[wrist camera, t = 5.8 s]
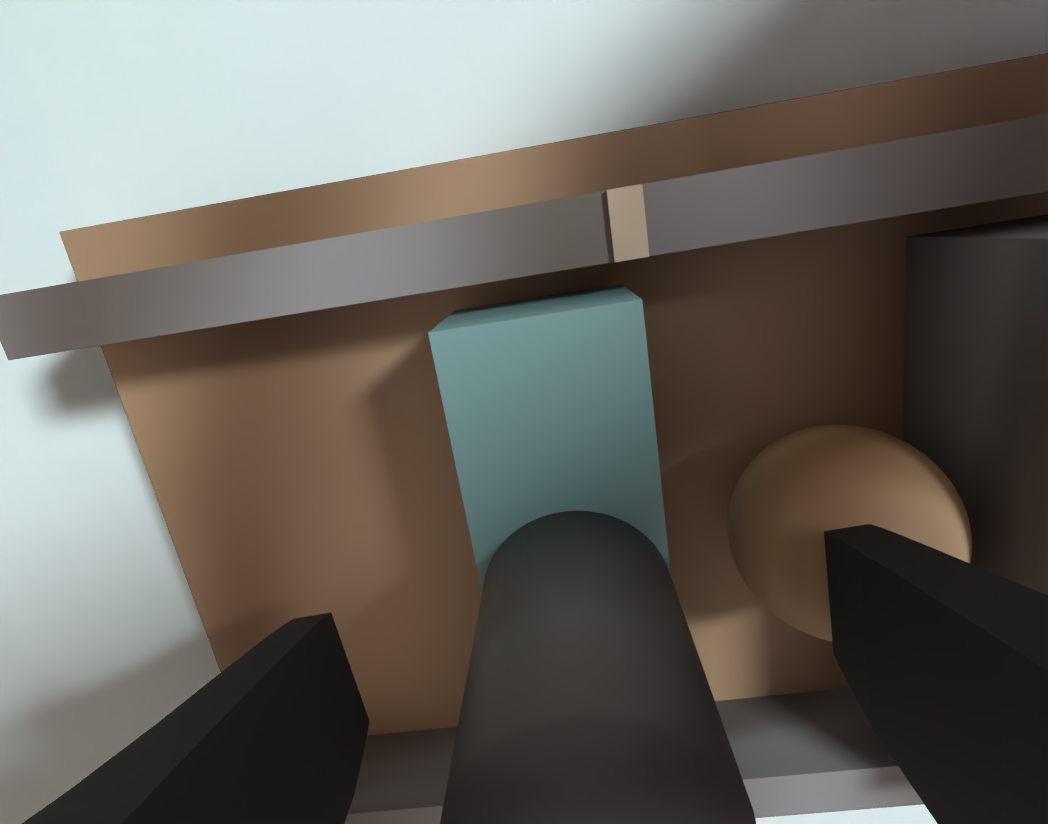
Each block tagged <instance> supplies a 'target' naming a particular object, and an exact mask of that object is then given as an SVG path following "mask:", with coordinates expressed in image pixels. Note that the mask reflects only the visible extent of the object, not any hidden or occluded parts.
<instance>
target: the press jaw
mask: <svg viewBox="0 0 1048 824" xmlns="http://www.w3.org/2000/svg"><path fill="white" fill-rule="evenodd" d="M428 335H429V340H430V345H431V350H432V355H433V359H434V364H435V369H436V374H437V379H438V383H439V388H440V393H441V398H442V403H443V407H444V412H445V417H446V422H447V427H448V432H449V436H450V441H451V446H452V451H453V456H454V460H455V465H456V470H457V475H458V480H459V484H460V489H461V494H462V499H463V504H464V508H465V513H466V518H467V523H468V528H469V533H470V537H471V542H472V547H473V552H474V557H475V561H476V566H477V571H478V576H479V581H480V585H481V590H482V597H481V602H480V608H479V613H478V619H477V624H476V630H475V635H474V640H473V646H472V651H471V657H470V662H469V668H468V673H467V678H466V684H465V689H464V695H463V700H462V706H461V711H460V716H459V722H458V727H457V733H456V738H455V744H454V749H453V754H452V760H451V765H450V771H449V776H448V782H447V787H446V792H445V798H444V803H443V809H442V815H441V821H440V824H756V821H755V814H754V811H753V808H752V805H751V802H750V799H749V796H748V794H747V791H746V788H745V785H744V782H743V779H742V777H741V774H740V771H739V768H738V765H737V762H736V760H735V757H734V754H733V751H732V748H731V745H730V743H729V740H728V737H727V734H726V731H725V729H724V726H723V723H722V720H721V717H720V714H719V712H718V709H717V706H716V703H715V700H714V697H713V695H712V692H711V689H710V686H709V683H708V680H707V678H706V675H705V672H704V669H703V666H702V663H701V661H700V658H699V655H698V652H697V649H696V647H695V644H694V641H693V638H692V635H691V632H690V630H689V627H688V624H687V621H686V618H685V615H684V613H683V610H682V607H681V604H680V601H679V598H678V596H677V593H676V590H675V587H674V584H673V581H672V579H671V572H670V563H669V553H668V543H667V534H666V524H665V514H664V505H663V495H662V485H661V476H660V466H659V456H658V447H657V437H656V427H655V418H654V408H653V398H652V389H651V379H650V369H649V360H648V350H647V340H646V331H645V321H644V311H643V302H642V299H641V298H640V297H638V296H637V295H636V294H634V293H633V292H631V291H630V290H629V289H627V288H626V287H625V286H623V285H622V284H617V285H611V286H604V287H598V288H592V289H586V290H579V291H573V292H567V293H560V294H554V295H548V296H542V297H535V298H529V299H523V300H516V301H510V302H504V303H498V304H491V305H485V306H479V307H472V308H466V309H460V310H455V311H453V312H452V313H451V314H450V315H449V316H447V317H446V318H445V319H444V320H443V321H442V322H440V323H439V324H438V325H437V326H436V327H434V328H433V329H432V330H431V331H430V332H428Z"/></svg>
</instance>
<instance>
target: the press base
mask: <svg viewBox="0 0 1048 824" xmlns="http://www.w3.org/2000/svg"><path fill="white" fill-rule="evenodd" d="M59 233H60V235H61V238H62V241H63V244H64V246H65V249H66V252H67V254H68V257H69V260H70V263H71V265H72V268H73V271H74V273H75V276H76V279H77V282H73V283H67V284H61V285H56V286H50V287H44V288H38V289H33V290H27V291H21V292H15V293H9V294H4V295H0V341H1V344H2V346H3V348H4V351H5V353H6V356H7V358H8V360H13V359H20V358H26V357H32V356H38V355H44V354H50V353H57V352H63V351H69V350H75V349H81V348H87V347H94V346H100V345H101V347H102V350H103V352H104V355H105V358H106V361H107V363H108V366H109V369H110V372H111V374H112V377H113V380H114V382H115V385H116V388H117V391H118V393H119V396H120V399H121V402H122V404H123V407H124V410H125V412H126V415H127V418H128V421H129V423H130V426H131V429H132V431H133V434H134V437H135V440H136V442H137V445H138V448H139V451H140V453H141V456H142V459H143V461H144V464H145V467H146V470H147V472H148V475H149V478H150V480H151V483H152V486H153V489H154V491H155V494H156V497H157V500H158V502H159V505H160V508H161V510H162V513H163V516H164V519H165V521H166V524H167V527H168V530H169V532H170V535H171V538H172V540H173V543H174V546H175V549H176V551H177V554H178V557H179V559H180V562H181V565H182V568H183V570H184V573H185V576H186V579H187V581H188V584H189V587H190V589H191V592H192V595H193V598H194V600H195V603H196V606H197V609H198V611H199V614H200V617H201V619H202V622H203V625H204V628H205V630H206V633H207V636H208V638H209V641H210V644H211V647H212V649H213V652H214V655H215V658H216V660H217V663H218V666H219V668H220V671H221V672H222V671H224V670H225V669H226V668H227V667H229V666H230V665H231V664H232V663H234V662H235V661H236V660H238V659H239V658H240V657H241V656H243V655H244V654H245V653H246V652H248V651H249V650H250V649H252V648H253V647H254V646H255V645H257V644H258V643H259V642H261V641H262V640H263V639H265V638H266V637H267V636H269V635H270V634H271V633H273V632H274V631H275V630H277V629H278V628H280V627H281V626H283V625H284V624H286V623H287V622H289V621H291V620H292V619H294V618H300V617H307V616H313V615H319V614H325V613H332V616H333V619H334V622H335V625H336V627H337V630H338V633H339V636H340V639H341V642H342V644H343V647H344V650H345V653H346V656H347V659H348V661H349V664H350V667H351V670H352V673H353V676H354V678H355V681H356V684H357V687H358V690H359V693H360V695H361V698H362V701H363V704H364V707H365V710H366V712H367V715H368V718H369V721H370V722H369V727H368V732H367V737H366V743H365V748H364V753H363V758H362V763H361V767H360V771H359V776H358V780H357V784H356V789H355V793H354V796H353V799H352V802H351V805H350V808H349V812H348V815H347V818H346V821H345V823H344V824H440V821H441V815H442V809H443V803H444V798H445V792H446V787H447V782H448V776H449V771H450V765H451V760H452V754H453V749H454V744H455V738H456V733H457V727H458V722H459V716H460V711H461V706H462V700H463V695H464V689H465V684H466V678H467V673H468V668H469V662H470V657H471V651H472V646H473V640H474V635H475V630H476V624H477V619H478V613H479V608H480V602H481V597H482V590H481V585H480V581H479V576H478V571H477V566H476V561H475V557H474V552H473V547H472V542H471V537H470V533H469V528H468V523H467V518H466V513H465V508H464V504H463V499H462V494H461V489H460V484H459V480H458V475H457V470H456V465H455V460H454V456H453V451H452V446H451V441H450V436H449V432H448V427H447V422H446V417H445V412H444V407H443V403H442V398H441V393H440V388H439V383H438V379H437V374H436V369H435V364H434V359H433V355H432V350H431V345H430V340H429V335H428V332H430V331H431V330H432V329H433V328H434V327H436V326H437V325H438V324H439V323H440V322H442V321H443V320H444V319H445V318H446V317H447V316H449V315H450V314H451V313H452V312H453V311H455V310H460V309H466V308H472V307H479V306H485V305H491V304H498V303H504V302H510V301H516V300H523V299H529V298H535V297H542V296H548V295H554V294H560V293H567V292H573V291H579V290H586V289H592V288H598V287H604V286H611V285H617V284H622V285H623V286H625V287H626V288H627V289H629V290H630V291H631V292H633V293H634V294H636V295H637V296H638V297H640V298H641V299H642V302H643V311H644V321H645V331H646V340H647V350H648V360H649V369H650V379H651V389H652V398H653V408H654V418H655V427H656V437H657V447H658V456H659V466H660V476H661V485H662V495H663V505H664V514H665V524H666V534H667V543H668V553H669V563H670V572H671V579H672V581H673V584H674V587H675V590H676V593H677V596H678V598H679V601H680V604H681V607H682V610H683V613H684V615H685V618H686V621H687V624H688V627H689V630H690V632H691V635H692V638H693V641H694V644H695V647H696V649H697V652H698V655H699V658H700V661H701V663H702V666H703V669H704V672H705V675H706V678H707V680H708V683H709V686H710V689H711V692H712V695H713V697H714V700H715V703H716V706H717V709H718V712H719V714H720V717H721V720H722V723H723V726H724V729H725V731H726V734H727V737H728V740H729V743H730V745H731V748H732V751H733V754H734V757H735V760H736V762H737V765H738V768H739V771H740V774H741V777H742V779H743V782H744V785H745V788H746V791H747V794H748V796H749V799H750V802H751V805H752V808H753V811H754V814H755V818H762V817H774V816H786V815H798V814H810V813H822V812H835V811H847V810H859V809H871V808H883V807H895V806H908V805H920V804H924V803H923V801H922V800H921V799H920V797H919V796H918V794H917V793H916V791H915V790H914V788H913V787H912V785H911V784H910V783H909V781H908V780H907V778H906V777H905V775H904V774H903V772H902V771H901V769H900V768H899V766H898V765H897V763H896V762H895V760H894V759H893V757H892V756H891V755H890V753H889V752H888V750H887V749H886V747H885V746H884V744H883V743H882V741H881V740H880V738H879V737H878V735H877V734H876V732H875V731H874V729H873V728H872V726H871V725H870V723H869V721H868V719H867V717H866V715H865V714H864V712H863V710H862V708H861V706H860V704H859V703H858V701H857V699H856V697H855V695H854V693H853V691H852V690H851V688H850V686H849V684H848V682H847V680H846V678H845V676H844V674H843V672H842V670H841V668H840V666H839V664H838V662H837V660H836V658H835V656H834V654H833V642H832V630H831V617H830V604H829V592H828V579H827V566H826V554H825V541H824V531H829V530H835V529H841V528H847V527H853V526H859V525H865V524H872V525H875V526H878V527H881V528H884V529H886V530H889V531H892V532H894V533H897V534H900V535H902V536H905V537H907V538H910V539H912V540H915V541H917V542H919V543H922V544H924V545H927V546H929V547H932V548H934V549H936V550H939V551H941V552H944V553H946V554H948V555H951V556H953V557H955V558H958V559H960V560H963V561H965V562H967V563H970V564H972V565H975V566H977V567H979V568H982V569H984V570H987V571H989V572H992V573H994V574H996V575H999V576H1001V577H1004V578H1006V579H1009V580H1011V581H1014V582H1016V583H1019V584H1021V585H1023V586H1026V587H1028V588H1031V589H1033V590H1036V591H1038V592H1041V593H1044V594H1046V595H1048V53H1046V54H1041V55H1035V56H1030V57H1024V58H1019V59H1013V60H1008V61H1002V62H997V63H991V64H986V65H980V66H974V67H969V68H963V69H958V70H952V71H947V72H941V73H936V74H930V75H925V76H919V77H914V78H908V79H903V80H897V81H891V82H886V83H880V84H875V85H869V86H864V87H858V88H853V89H847V90H842V91H836V92H831V93H825V94H820V95H814V96H809V97H803V98H797V99H792V100H786V101H781V102H775V103H770V104H764V105H759V106H753V107H748V108H742V109H737V110H731V111H726V112H720V113H714V114H709V115H703V116H698V117H692V118H687V119H681V120H676V121H670V122H665V123H659V124H654V125H648V126H643V127H637V128H632V129H626V130H620V131H615V132H609V133H604V134H598V135H593V136H587V137H582V138H576V139H571V140H565V141H560V142H554V143H549V144H543V145H537V146H532V147H526V148H521V149H515V150H510V151H504V152H499V153H493V154H488V155H482V156H477V157H471V158H466V159H460V160H455V161H449V162H443V163H438V164H432V165H427V166H421V167H416V168H410V169H405V170H399V171H394V172H388V173H383V174H377V175H372V176H366V177H360V178H355V179H349V180H344V181H338V182H333V183H327V184H322V185H316V186H311V187H305V188H300V189H294V190H289V191H283V192H278V193H272V194H266V195H261V196H255V197H250V198H244V199H239V200H233V201H228V202H222V203H217V204H211V205H206V206H200V207H195V208H189V209H183V210H178V211H172V212H167V213H161V214H156V215H150V216H145V217H139V218H134V219H128V220H123V221H117V222H112V223H106V224H101V225H95V226H89V227H84V228H78V229H73V230H67V231H62V232H59Z"/></svg>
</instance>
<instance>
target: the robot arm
mask: <svg viewBox="0 0 1048 824" xmlns="http://www.w3.org/2000/svg"><path fill="white" fill-rule="evenodd" d="M824 541H825V554H826V566H827V579H828V592H829V604H830V617H831V630H832V642H833V654H834V656H835V658H836V660H837V662H838V664H839V666H840V668H841V670H842V672H843V674H844V676H845V678H846V680H847V682H848V684H849V686H850V688H851V690H852V691H853V693H854V695H855V697H856V699H857V701H858V703H859V704H860V706H861V708H862V710H863V712H864V714H865V715H866V717H867V719H868V721H869V723H870V725H871V726H872V728H873V729H874V731H875V732H876V734H877V735H878V737H879V738H880V740H881V741H882V743H883V744H884V746H885V747H886V749H887V750H888V752H889V753H890V755H891V756H892V757H893V759H894V760H895V762H896V763H897V765H898V766H899V768H900V769H901V771H902V772H903V774H904V775H905V777H906V778H907V780H908V781H909V783H910V784H911V785H912V787H913V788H914V790H915V791H916V793H917V794H918V796H919V797H920V799H921V800H922V801H923V803H924V804H925V806H926V807H927V809H928V810H929V812H930V813H931V815H932V816H933V817H934V819H935V820H936V822H937V823H938V824H1048V595H1046V594H1044V593H1041V592H1038V591H1036V590H1033V589H1031V588H1028V587H1026V586H1023V585H1021V584H1019V583H1016V582H1014V581H1011V580H1009V579H1006V578H1004V577H1001V576H999V575H996V574H994V573H992V572H989V571H987V570H984V569H982V568H979V567H977V566H975V565H972V564H970V563H967V562H965V561H963V560H960V559H958V558H955V557H953V556H951V555H948V554H946V553H944V552H941V551H939V550H936V549H934V548H932V547H929V546H927V545H924V544H922V543H919V542H917V541H915V540H912V539H910V538H907V537H905V536H902V535H900V534H897V533H894V532H892V531H889V530H886V529H884V528H881V527H878V526H875V525H872V524H865V525H859V526H853V527H847V528H841V529H835V530H829V531H824ZM369 722H370V721H369V718H368V715H367V712H366V710H365V707H364V704H363V701H362V698H361V695H360V693H359V690H358V687H357V684H356V681H355V678H354V676H353V673H352V670H351V667H350V664H349V661H348V659H347V656H346V653H345V650H344V647H343V644H342V642H341V639H340V636H339V633H338V630H337V627H336V625H335V622H334V619H333V616H332V613H325V614H319V615H313V616H307V617H300V618H294V619H292V620H291V621H289V622H287V623H286V624H284V625H283V626H281V627H280V628H278V629H277V630H275V631H274V632H273V633H271V634H270V635H269V636H267V637H266V638H265V639H263V640H262V641H261V642H259V643H258V644H257V645H255V646H254V647H253V648H252V649H250V650H249V651H248V652H246V653H245V654H244V655H243V656H241V657H240V658H239V659H238V660H236V661H235V662H234V663H232V664H231V665H230V666H229V667H227V668H226V669H225V670H224V671H222V672H221V673H220V674H219V675H217V676H216V677H215V678H214V679H212V680H211V681H210V682H209V683H207V684H206V685H205V686H204V687H202V688H201V689H200V690H199V691H197V692H196V693H195V694H194V695H192V696H191V697H190V698H189V699H187V700H186V701H185V702H184V703H182V704H181V705H180V706H179V707H177V708H176V709H175V710H174V711H172V712H171V713H170V714H169V715H167V716H166V717H165V718H164V719H162V720H161V721H160V722H159V723H157V724H156V725H155V726H153V727H152V728H151V729H149V730H148V731H147V732H145V733H144V734H143V735H141V736H140V737H139V738H138V739H136V740H135V741H134V742H132V743H131V744H130V745H128V746H127V747H126V748H124V749H123V750H122V751H120V752H119V753H118V754H116V755H115V756H114V757H112V758H111V759H110V760H109V761H107V762H106V763H105V764H103V765H102V766H101V767H99V768H98V769H97V770H95V771H94V772H93V773H91V774H90V775H89V776H87V777H86V778H85V779H83V780H82V781H81V782H80V783H78V784H77V785H76V786H74V787H73V788H71V789H70V790H69V791H67V792H66V793H65V794H63V795H62V796H60V797H59V798H58V799H56V800H55V801H53V802H52V803H51V804H49V805H48V806H46V807H45V808H44V809H42V810H41V811H39V812H38V813H36V814H35V815H34V816H32V817H31V818H29V819H28V820H26V821H25V822H24V823H22V824H344V823H345V821H346V818H347V815H348V812H349V808H350V805H351V802H352V799H353V796H354V793H355V789H356V784H357V780H358V776H359V771H360V767H361V763H362V758H363V753H364V748H365V743H366V737H367V732H368V727H369Z"/></svg>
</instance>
